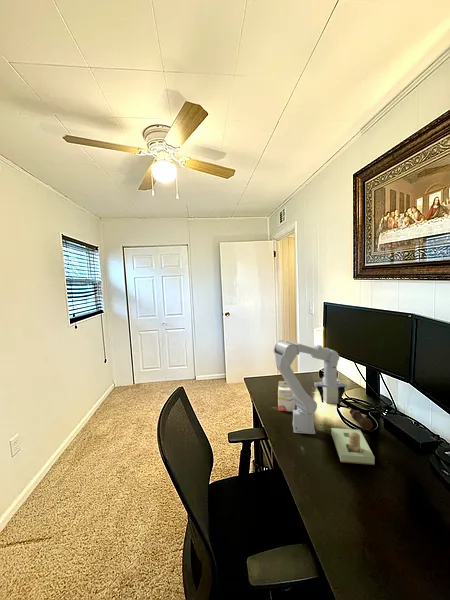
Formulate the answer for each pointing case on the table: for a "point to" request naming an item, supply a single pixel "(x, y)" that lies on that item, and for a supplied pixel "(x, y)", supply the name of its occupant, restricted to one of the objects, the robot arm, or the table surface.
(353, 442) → the pin
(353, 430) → the socket block
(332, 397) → the supplement box
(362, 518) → the table surface
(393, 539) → the table surface
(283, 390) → the ink cartridge box
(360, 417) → the bolt
